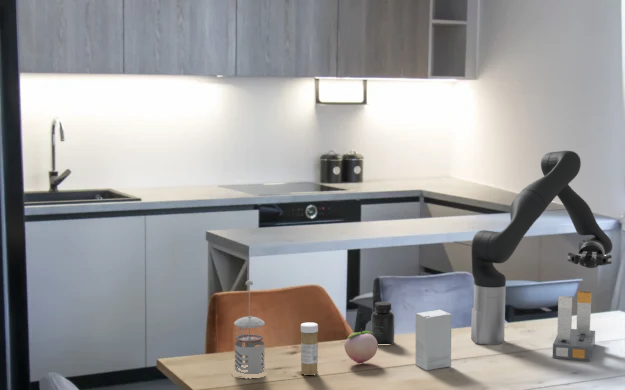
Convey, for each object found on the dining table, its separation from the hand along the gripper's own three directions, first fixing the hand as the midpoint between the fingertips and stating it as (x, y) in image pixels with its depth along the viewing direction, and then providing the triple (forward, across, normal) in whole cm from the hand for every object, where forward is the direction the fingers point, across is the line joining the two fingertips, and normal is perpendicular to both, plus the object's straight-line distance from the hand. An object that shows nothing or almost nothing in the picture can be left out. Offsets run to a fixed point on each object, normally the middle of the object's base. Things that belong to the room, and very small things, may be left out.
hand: (587, 263), depth 274 cm
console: (+11, -2, +24) cm, 26 cm away
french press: (+65, -80, +24) cm, 106 cm away
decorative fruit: (+47, -55, +24) cm, 76 cm away
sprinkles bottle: (+60, -65, +24) cm, 92 cm away
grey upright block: (+16, -4, +19) cm, 26 cm away
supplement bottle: (+23, -56, +24) cm, 65 cm away
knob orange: (+7, 0, +19) cm, 21 cm away
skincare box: (+41, -36, +24) cm, 60 cm away
